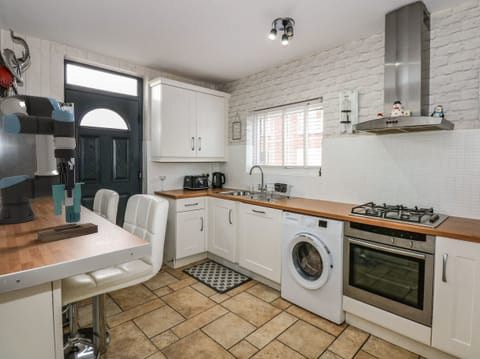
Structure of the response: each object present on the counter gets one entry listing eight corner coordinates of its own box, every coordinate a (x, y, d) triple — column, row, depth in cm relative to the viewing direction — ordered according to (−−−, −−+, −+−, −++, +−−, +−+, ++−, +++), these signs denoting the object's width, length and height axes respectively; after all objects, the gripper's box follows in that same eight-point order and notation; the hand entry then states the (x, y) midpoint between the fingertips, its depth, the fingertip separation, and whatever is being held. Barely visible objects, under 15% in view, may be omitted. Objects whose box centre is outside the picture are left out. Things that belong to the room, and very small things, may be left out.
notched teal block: (53, 214, 110) (52, 185, 109) (79, 211, 117) (77, 183, 117) (56, 215, 108) (54, 185, 108) (81, 212, 115) (80, 184, 115)
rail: (37, 238, 109) (37, 231, 109) (90, 229, 124) (90, 222, 124) (43, 242, 104) (43, 235, 103) (98, 232, 119) (97, 225, 119)
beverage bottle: (68, 226, 128) (66, 184, 127) (63, 224, 132) (61, 184, 131) (83, 224, 134) (81, 183, 132) (77, 222, 138) (75, 183, 136)
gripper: (48, 148, 113) (51, 204, 115) (60, 147, 103) (64, 208, 105) (68, 149, 119) (71, 202, 121) (82, 148, 109) (85, 205, 110)
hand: (67, 205), depth 113 cm, fingers closed on notched teal block, 3 cm apart
